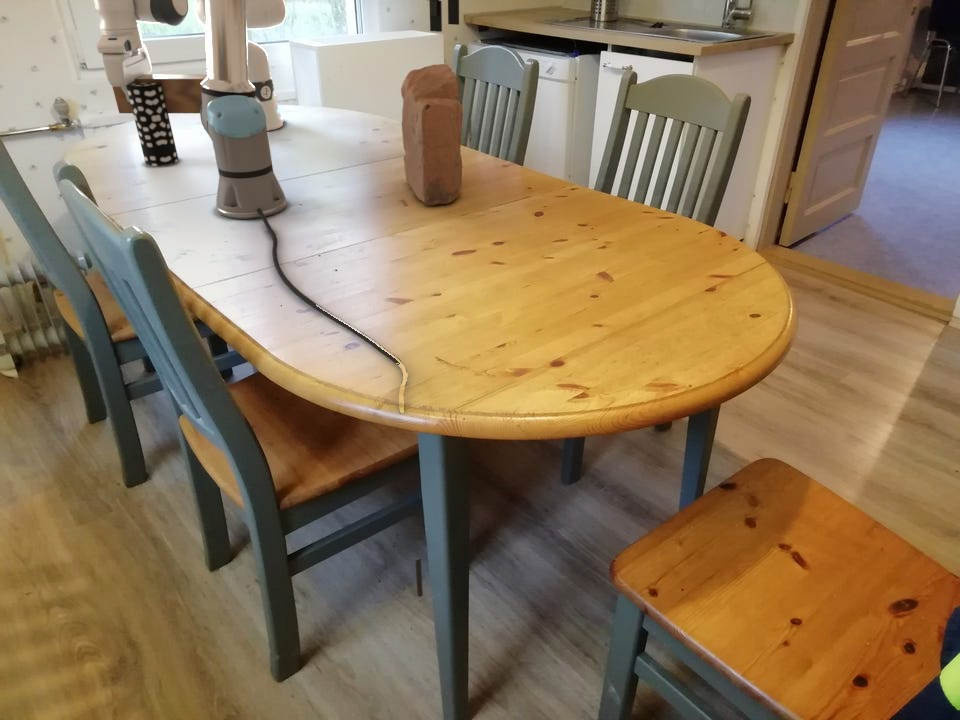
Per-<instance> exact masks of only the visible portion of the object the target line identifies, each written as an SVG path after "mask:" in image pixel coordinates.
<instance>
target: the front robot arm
mask: <svg viewBox="0 0 960 720" xmlns="http://www.w3.org/2000/svg"><path fill="white" fill-rule="evenodd" d="M203 1H204V18H205V27H204V32H205V33H204V34H205V52H206V68H207V70H206V72H207V74H208V76H207V78H206V79H205V80H204V81H203V82H202V83H201V92H202V105H201V110H200V113H199V116H200V117H199V118H200V122H201V124H202V127H203V129H204V131H205V132H206V133H207V135H208V136H209V138H210V140H211V142H212V147H213V151H214V156H215V160H216V167H217V169H218V170H217V172H218V185H217V193H216V201H215V203H216V204H215V206H216V210H217V213H218V214H219V215H221V216H223V217H225V218H229V219H236V220H253V219H260V218H261V220H262V222H263V224H264V226H265V228H266V230H267V232H268V233H269V234H270V236H271V238H272V250H271V253H272V261H273V265H274V267H275V270H276V272H277V274H278V275H279V277H280V279H281V281H282V282H283V284H285V285H286V287H287V288H288V289H289V290H290V291H291V292H292V293H293V294H295V295H296V296H297V297H298V298H299V299H300V300H302V301H303V302H305V303H306V304H307V305H308V306H310V307H311V308H312V309H314V310H316V311H318V312H319V313H320V314H322V315H324V316H325V317H326V318H328V319H330V320H331V321H333V322H335V323H336V324H338V325H340V326H341V327H343V328H345V329H346V330H348V331H349V332H351V333H352V334H354V335H356V336H357V337H358V338H360V339H362V340H363V341H364V342H366V343H368V345H370V346H371V347H373V348H374V349H375V350H376V351H378V352H379V353H380V354H382V355H383V356H385V357H386V358H388V359H389V360H390V361H392V362H393V363H394V364H395V365H396V363H399V362H398V361H397V360H396V359H395V358H393V357H392V356H391V355H389V354H388V353H387V352H385V351H384V350H382V349H381V348H380V347H378V346H377V345H376V344H375V343H373V342H372V341H370V340H369V339H368V338H366V337H365V336H363V335H362V334H360V333H358V332H357V331H355V330H354V329H352V328H351V327H349V326H348V325H346V324H344V323H343V322H341V321H339V320H338V319H336V318H334V317H333V316H331V315H330V314H328V313H327V312H325V311H323V310H322V309H320V308H319V307H317V306H316V304H317V305H319V304H318V303H316V302H314V301H313V300H312V299H310V298H309V297H308V296H306V295H305V294H304V293H302V291H300V290H299V289H298V288H297V287H295V286H294V285H293V283H292V282H291V281H290V280H289V279H288V277H287V276H286V275H285V272H284V271H283V270H282V268H281V265H280V261H279V257H278V238H277V235H276V233H275V231H274V230H273V228H272V227H271V224H270V222H269V221H268V219H267V217H270V216H274V215H276V214H278V213H280V212H282V211H283V210H285V209H286V207H287V199H286V194H285V193H284V191H283V189H282V187H281V184H280V182H279V180H278V179H277V177H276V175H275V172H274V167H273V160H272V154H271V148H270V140H269V135H268V131H267V127H266V115H265V113H264V110H263V106H262V104H261V103H260V102H259V101H258V100H256V97H255V87H254V86H253V85H252V84H251V83H250V82H249V80H248V61H247V40H248V32H247V31H248V30H247V28H246V0H203ZM428 2H429V30H430V31H429V32H437V33H438V32H439V33H440V32H443V16H442V15H443V14H442V11H443V9H442V7H443V6H442V0H428ZM447 25H456V26H458V25H460V0H447ZM319 306H320V305H319ZM320 307H322V306H320ZM327 311H328V312H330V311H329V310H327ZM330 313H331V312H330ZM331 314H333V313H331ZM348 324H349V323H348ZM349 325H351V324H349ZM356 329H357V328H356ZM357 330H359V329H357ZM359 331H360V332H362V331H361V330H359ZM362 333H363V334H365V333H364V332H362ZM365 335H366V336H368V335H367V334H365ZM368 337H369V338H371V337H370V336H368ZM371 339H372V340H374V339H373V338H371ZM374 341H375V342H377V341H376V340H374ZM378 344H379V343H378ZM379 345H380V346H382V345H381V344H379ZM383 348H384V349H386V348H385V347H383ZM386 350H387V351H389V350H388V349H386ZM393 355H394V356H396V355H395V354H393ZM398 359H399V360H400V361H402V360H401V359H400V358H398ZM399 364H400V363H399ZM399 364H397V365H399ZM397 365H396V366H397ZM399 414H401V413H399ZM401 415H402V414H401ZM415 580H416V594H417V597H419V598H421V597H422V596H424V595H423V594H424V593H423V591H424V589H423V574H422V558H419V559H416V560H415Z"/></svg>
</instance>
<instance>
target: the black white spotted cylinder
mask: <svg viewBox="0 0 960 720" xmlns="http://www.w3.org/2000/svg"><path fill="white" fill-rule="evenodd" d="M126 87H127V91H128V95H129V99H130V103H131V107H132V111H133V113H132V115H133V118H134V122H135V123H134V124H135V127H136V130H137V134H138V139H139V143H140V146H141V150H142V155H143V158H144V163H145V164H146V165H147V166H151V167H164V166H170V165H174V164H176V163H178V162H179V155H178V150H177V146H176V142H175V137H174V133H173V128H172V125H171V121H170V116H169V113H167V108H166V104H165V99H164V95H163V91H162V86H161V83H131V84H130V85H127V86H126Z"/></svg>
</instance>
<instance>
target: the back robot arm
mask: <svg viewBox="0 0 960 720" xmlns="http://www.w3.org/2000/svg"><path fill="white" fill-rule="evenodd" d="M92 2H93V5H94V9H95V12H96V13H97V15H98V18H99V29H100V32H101V34H100V37H99V40H98V42H97V43H96V50H97V52H98V54H101V61H102V66H103V68H104V72H105V75H106V76H105V77H106V79H107V81H108V83H109V85H110V86H111V87H112V86H113V87H121V88H122V90H123V92H124V93H125V95H126V98H127V101H128V102H130V99H129V95H128V91H127V87H126V86H127V85H130V84H131V83H132V82H134V81H135V78H137V77H139V76H141V75H143V74H152V71H153V66H152V63H151V59H150V56H149V53H148V50H147V47H146V45H145V43H143V38H142V34H141V33H142V32H141V29H140V25H139V23H147V24H160V25H166V26H171V27H177V26H179V25H181V24H182V23H183V21H184V20H185V19H186V17H187V15H188V12H189V1H188V0H92ZM193 11H194V15H195V17H196V20H197V21H198V23H199V24H200V25H201V26H202V27H203V28H205V18H204V1H203V0H194V1H193ZM286 16H287V5H286V2H285V0H246V28H247V31H249V30H267V29H272V28H275V27H278V26H282V25H283V23H284V21H285V20H286ZM247 61H248V80H249V82H250V83H251V84H252V85H253V86H254V87H255V97H256V100H258V101H259V102H260V103H261V104H262V106H263V110H264V113H265V115H266V127H267V132H268V131H269V132H270V131H272V130H277V129H280V128H282V127H283V125H284V122H285V118H284V117H282V113H281V108H282V107H281V105H279V100H278V97H277V95H276V94H275V93H274V90H275V88H274V86H275V85H274V82H273V78H272V77H271V70H270V64H269V56H268V53H267V51H266V50H265V49H264V47H262V46H261V45H259V44H258V43H255V42H253V41H251V40H249V39H247ZM113 87H112V88H113Z"/></svg>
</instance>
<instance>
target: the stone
mask: <svg viewBox="0 0 960 720" xmlns="http://www.w3.org/2000/svg"><path fill="white" fill-rule="evenodd" d="M400 92H401V97H402V109H401V133H402V145H403V150H404V155H403V164H404V165H403V166H404V175H405V177H406V181H407V183H408V184H409V187H410V189H412V191H413V193H414V195H415V196H416V197H417V198H418V200H419V201H422V203H423V205H425V206H436V205H447V204H449V203H452V202H454V200H455V199H457V198H459V197H460V192H461V189H462V185H463V178H462V177H463V159H462V154H461V152H462V151H461V144H462V129H463V119H464V118H463V117H464V108H463V104H461V103H460V100H459V84H458V81H457V76H456V73H455V72H453V70H452V68H451V67H450V65H448V64H446V63H440V64H432V65H428V66H424V67H422V68H418V69H413V70H410V71H409V72H408V73H407V75H406V76H405V78H404V80H403V82H402V85H401V87H400Z"/></svg>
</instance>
